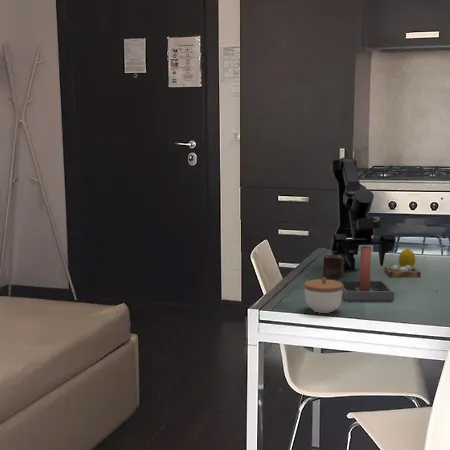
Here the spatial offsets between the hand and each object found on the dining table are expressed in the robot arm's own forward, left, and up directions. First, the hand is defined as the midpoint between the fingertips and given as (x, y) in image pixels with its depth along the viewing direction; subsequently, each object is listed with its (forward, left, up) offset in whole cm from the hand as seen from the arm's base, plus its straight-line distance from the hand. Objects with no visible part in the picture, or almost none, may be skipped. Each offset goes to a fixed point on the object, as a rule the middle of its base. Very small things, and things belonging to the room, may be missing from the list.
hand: (366, 265), depth 212 cm
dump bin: (0, +1, -10) cm, 10 cm away
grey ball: (+18, +25, -9) cm, 32 cm away
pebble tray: (+18, +26, -10) cm, 33 cm away
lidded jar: (-15, -15, -10) cm, 23 cm away
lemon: (+22, +35, -10) cm, 43 cm away
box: (-5, +26, -10) cm, 29 cm away
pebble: (+20, +27, -9) cm, 35 cm away
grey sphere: (+16, +27, -9) cm, 33 cm away
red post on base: (0, +2, -9) cm, 9 cm away
